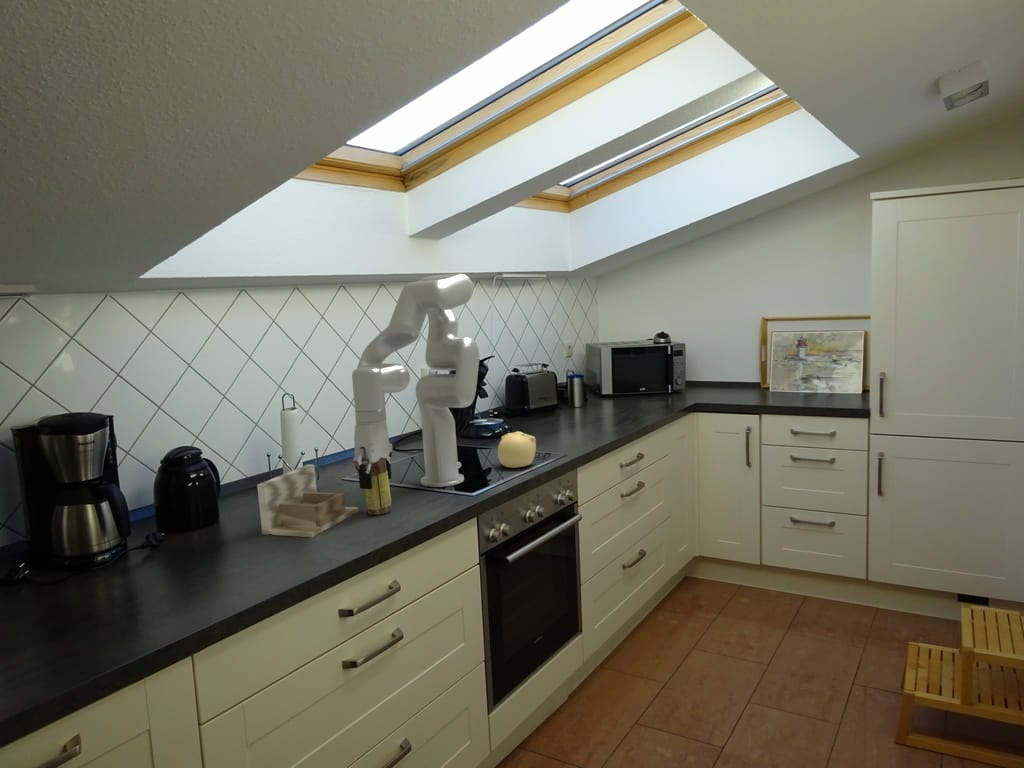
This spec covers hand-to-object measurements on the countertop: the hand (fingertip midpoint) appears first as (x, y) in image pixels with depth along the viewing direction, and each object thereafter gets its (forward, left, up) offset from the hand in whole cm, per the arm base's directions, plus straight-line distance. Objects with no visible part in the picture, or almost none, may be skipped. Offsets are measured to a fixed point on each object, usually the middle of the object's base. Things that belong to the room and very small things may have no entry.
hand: (376, 483), depth 179 cm
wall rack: (+10, -13, -7) cm, 18 cm away
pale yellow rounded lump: (-51, +20, -8) cm, 55 cm away
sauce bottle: (0, 0, -8) cm, 8 cm away
